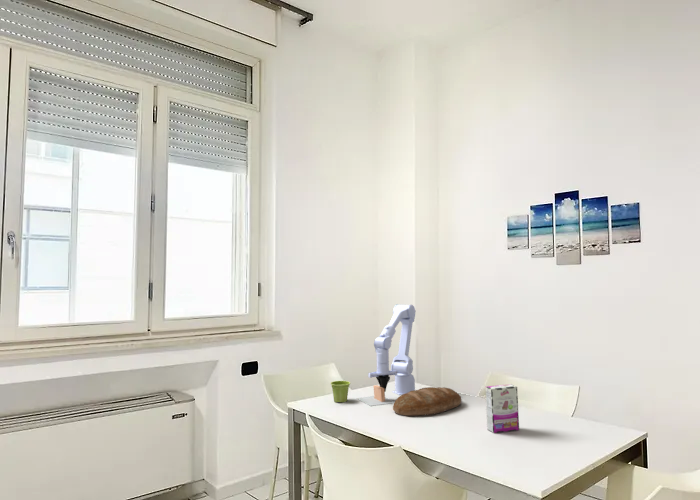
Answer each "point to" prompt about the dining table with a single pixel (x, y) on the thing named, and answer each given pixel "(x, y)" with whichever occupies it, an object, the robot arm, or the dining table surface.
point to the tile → (379, 393)
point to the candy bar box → (502, 408)
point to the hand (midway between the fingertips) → (383, 391)
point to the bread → (426, 401)
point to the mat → (374, 401)
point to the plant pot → (340, 390)
